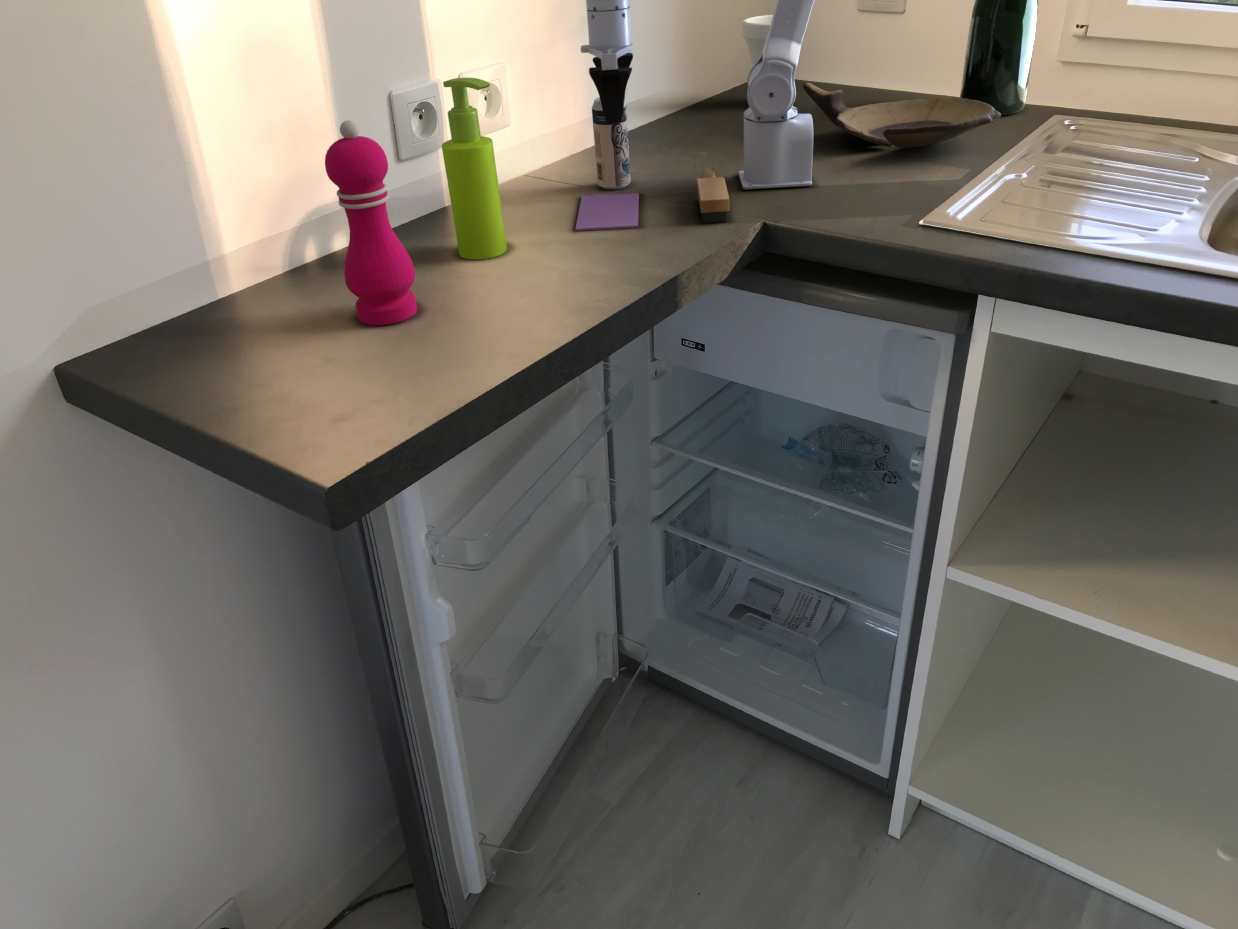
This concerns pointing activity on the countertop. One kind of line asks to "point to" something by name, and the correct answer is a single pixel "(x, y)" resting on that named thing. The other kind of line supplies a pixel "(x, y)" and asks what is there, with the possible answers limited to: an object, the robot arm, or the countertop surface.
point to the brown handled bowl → (904, 118)
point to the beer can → (611, 149)
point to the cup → (756, 34)
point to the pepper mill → (370, 231)
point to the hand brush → (712, 196)
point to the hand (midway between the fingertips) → (614, 116)
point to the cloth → (608, 212)
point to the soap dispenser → (472, 178)
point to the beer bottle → (1000, 53)
